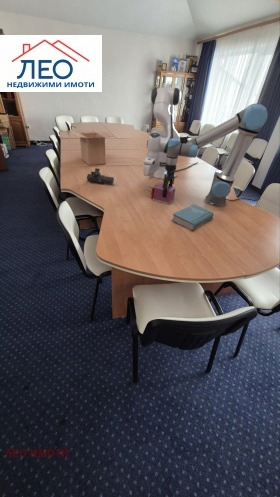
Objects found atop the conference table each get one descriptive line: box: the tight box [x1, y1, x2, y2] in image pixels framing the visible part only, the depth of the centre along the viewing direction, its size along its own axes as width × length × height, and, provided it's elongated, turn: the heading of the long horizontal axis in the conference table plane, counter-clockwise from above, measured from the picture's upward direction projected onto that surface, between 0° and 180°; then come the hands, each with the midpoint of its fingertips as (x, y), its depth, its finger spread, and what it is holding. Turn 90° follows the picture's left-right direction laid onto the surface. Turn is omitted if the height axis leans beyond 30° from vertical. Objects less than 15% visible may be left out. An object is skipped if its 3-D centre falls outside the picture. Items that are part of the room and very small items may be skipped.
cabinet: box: [152, 183, 176, 205], centre depth 164 cm, size 13×10×10 cm
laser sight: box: [86, 168, 115, 185], centre depth 184 cm, size 10×22×10 cm, turn 78°
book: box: [171, 203, 215, 231], centre depth 142 cm, size 23×16×5 cm
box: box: [70, 129, 114, 166], centre depth 229 cm, size 44×36×27 cm
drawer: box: [144, 184, 159, 199], centre depth 166 cm, size 17×9×8 cm, turn 63°
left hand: (150, 178), depth 163 cm, fingers closed
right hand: (166, 194), depth 163 cm, fingers closed on cabinet, 10 cm apart
